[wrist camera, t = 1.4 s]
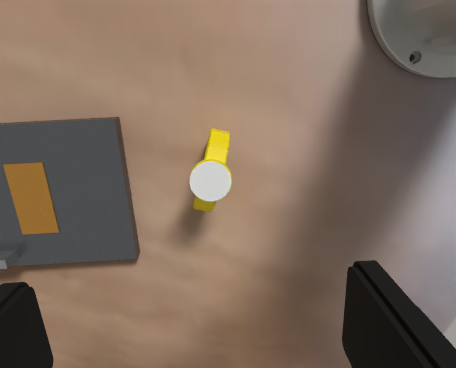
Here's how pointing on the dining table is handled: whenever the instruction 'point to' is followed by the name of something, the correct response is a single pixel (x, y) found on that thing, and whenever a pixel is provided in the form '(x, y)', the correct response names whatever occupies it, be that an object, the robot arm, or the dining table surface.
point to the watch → (212, 172)
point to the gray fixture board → (65, 193)
